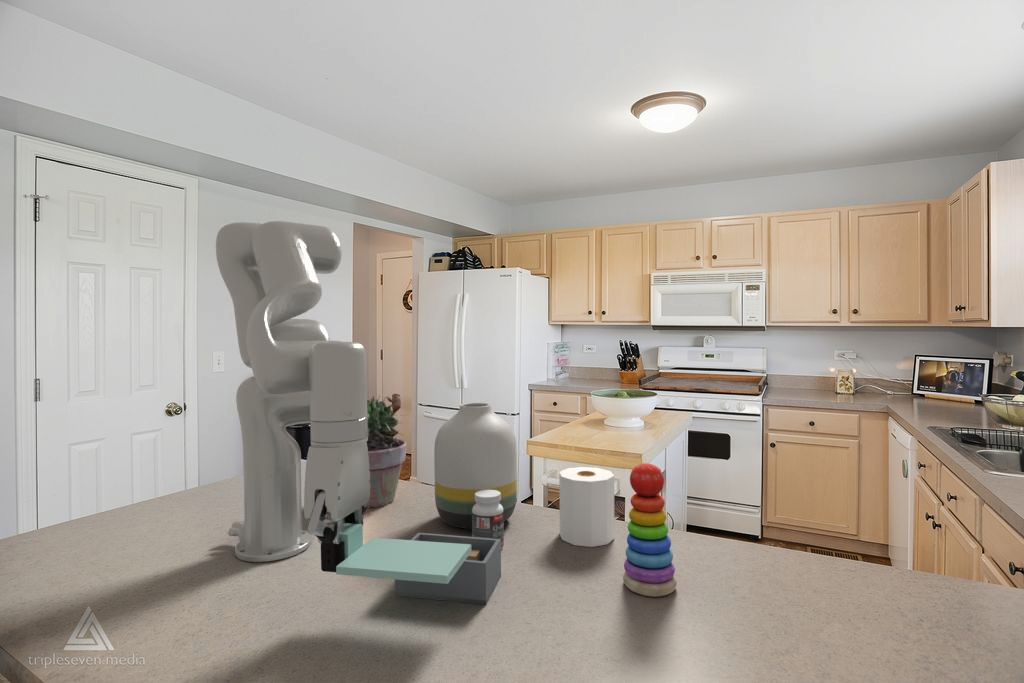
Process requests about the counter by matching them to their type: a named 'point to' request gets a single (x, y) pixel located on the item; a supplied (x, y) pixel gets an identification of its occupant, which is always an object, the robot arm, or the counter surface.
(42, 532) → the counter surface
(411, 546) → the mint slab with cube
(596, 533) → the toilet paper
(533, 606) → the counter surface
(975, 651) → the counter surface
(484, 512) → the pill bottle
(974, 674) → the counter surface
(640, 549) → the stacking toy
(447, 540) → the tub
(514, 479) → the vase
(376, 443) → the potted plant
